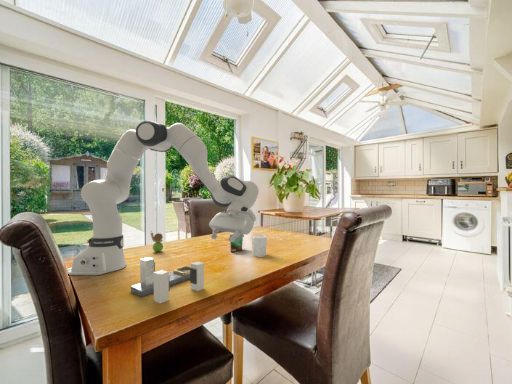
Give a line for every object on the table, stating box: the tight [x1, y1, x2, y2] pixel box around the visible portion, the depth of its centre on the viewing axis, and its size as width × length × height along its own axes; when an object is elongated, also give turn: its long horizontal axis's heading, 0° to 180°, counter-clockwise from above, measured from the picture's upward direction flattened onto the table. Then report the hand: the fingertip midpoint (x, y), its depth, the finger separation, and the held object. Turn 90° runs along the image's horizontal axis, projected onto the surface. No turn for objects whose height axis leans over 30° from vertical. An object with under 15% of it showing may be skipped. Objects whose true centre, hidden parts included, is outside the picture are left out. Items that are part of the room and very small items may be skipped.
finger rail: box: [130, 256, 191, 298], centre depth 91 cm, size 26×7×11 cm, turn 145°
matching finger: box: [189, 261, 205, 292], centre depth 85 cm, size 4×4×9 cm
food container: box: [229, 234, 245, 253], centre depth 138 cm, size 12×6×10 cm, turn 168°
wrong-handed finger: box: [153, 269, 171, 305], centre depth 77 cm, size 4×4×9 cm
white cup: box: [251, 234, 268, 258], centre depth 128 cm, size 8×8×10 cm
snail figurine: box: [150, 230, 164, 253], centre depth 135 cm, size 5×6×12 cm
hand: (221, 239), depth 96 cm, fingers open, 8 cm apart
